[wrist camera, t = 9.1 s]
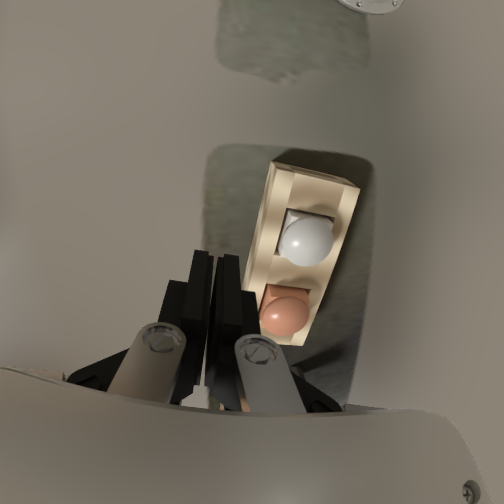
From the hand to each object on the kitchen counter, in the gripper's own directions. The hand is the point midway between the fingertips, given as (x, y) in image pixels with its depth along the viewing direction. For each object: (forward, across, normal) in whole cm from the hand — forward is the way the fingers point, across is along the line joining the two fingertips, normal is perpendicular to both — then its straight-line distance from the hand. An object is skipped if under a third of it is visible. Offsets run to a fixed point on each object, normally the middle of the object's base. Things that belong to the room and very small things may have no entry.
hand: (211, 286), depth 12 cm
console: (+27, -10, +11) cm, 31 cm away
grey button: (+26, -11, +6) cm, 28 cm away
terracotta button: (+25, -11, +16) cm, 31 cm away
